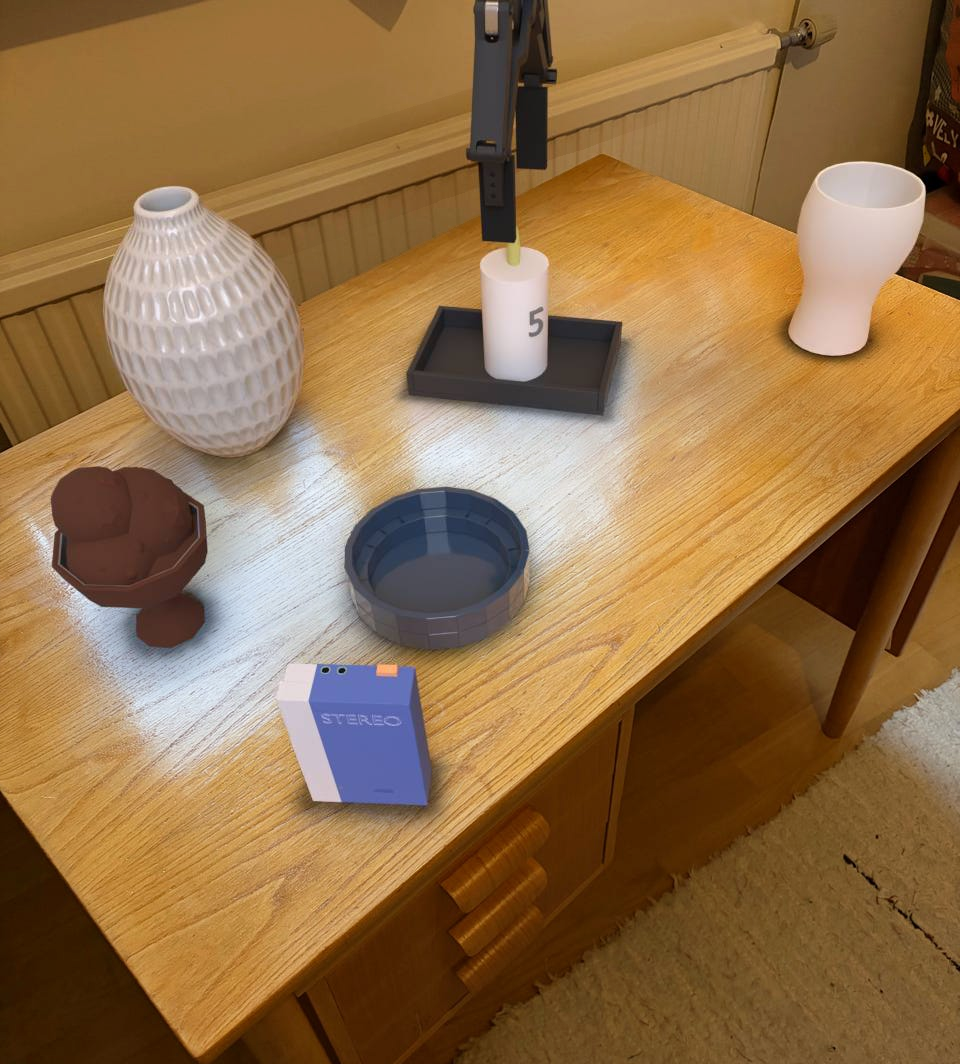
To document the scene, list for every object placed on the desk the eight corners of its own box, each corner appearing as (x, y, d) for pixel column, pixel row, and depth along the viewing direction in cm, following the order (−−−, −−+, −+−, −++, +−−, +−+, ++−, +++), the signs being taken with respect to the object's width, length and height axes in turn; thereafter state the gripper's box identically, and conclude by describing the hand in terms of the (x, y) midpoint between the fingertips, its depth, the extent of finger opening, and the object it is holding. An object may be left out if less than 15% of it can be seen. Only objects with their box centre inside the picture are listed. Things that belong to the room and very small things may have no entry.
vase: (121, 433, 87) (21, 200, 70) (264, 364, 94) (204, 135, 76) (207, 517, 79) (117, 277, 62) (356, 435, 85) (312, 197, 68)
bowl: (543, 534, 76) (544, 498, 73) (507, 665, 67) (506, 631, 64) (382, 513, 78) (376, 477, 75) (328, 637, 70) (318, 602, 67)
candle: (511, 391, 88) (508, 241, 76) (472, 361, 91) (463, 213, 80) (561, 366, 90) (565, 217, 78) (521, 338, 94) (519, 191, 82)
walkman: (432, 770, 62) (414, 662, 53) (427, 806, 60) (408, 701, 51) (319, 765, 63) (282, 658, 53) (311, 801, 61) (271, 696, 52)
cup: (755, 343, 92) (787, 193, 80) (800, 296, 97) (837, 149, 86) (856, 377, 88) (906, 224, 76) (898, 326, 93) (950, 175, 81)
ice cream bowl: (158, 700, 67) (80, 556, 55) (73, 627, 72) (-15, 482, 60) (267, 614, 72) (216, 466, 60) (180, 552, 76) (118, 404, 65)
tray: (620, 343, 93) (622, 321, 91) (603, 415, 86) (604, 393, 84) (440, 326, 97) (438, 305, 95) (408, 394, 89) (406, 373, 87)
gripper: (496, -152, 70) (504, 139, 86) (405, -62, 55) (436, 271, 71) (592, -154, 69) (582, 143, 85) (527, -62, 53) (530, 278, 70)
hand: (516, 202), depth 78 cm, fingers open, 13 cm apart
